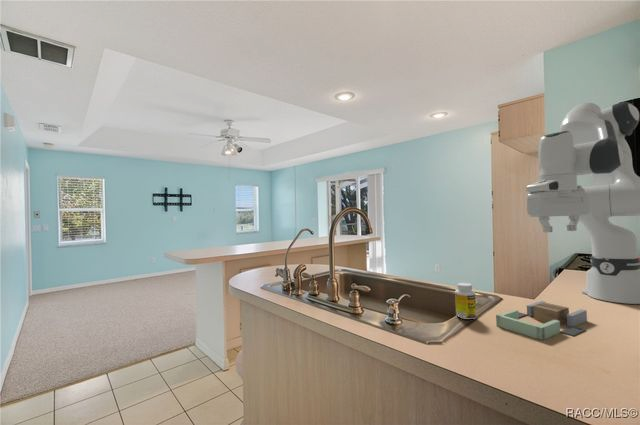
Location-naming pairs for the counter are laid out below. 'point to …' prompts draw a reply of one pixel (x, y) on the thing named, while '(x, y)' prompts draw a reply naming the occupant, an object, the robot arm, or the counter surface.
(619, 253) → the robot arm
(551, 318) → the walnut block
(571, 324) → the trap channel
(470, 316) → the supplement bottle
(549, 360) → the counter surface
